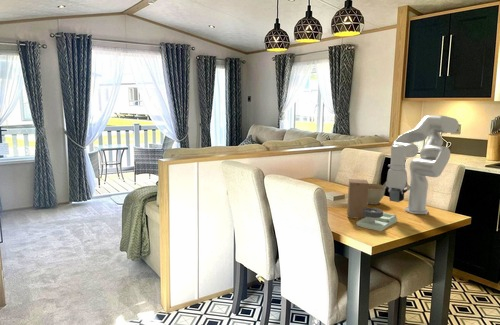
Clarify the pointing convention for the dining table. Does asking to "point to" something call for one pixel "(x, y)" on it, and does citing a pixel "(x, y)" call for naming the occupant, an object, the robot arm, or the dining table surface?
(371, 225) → the chassis
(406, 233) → the dining table surface
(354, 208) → the wooden block
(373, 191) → the planter bowl
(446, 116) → the robot arm
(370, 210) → the faceted grey bowl
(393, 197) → the block
